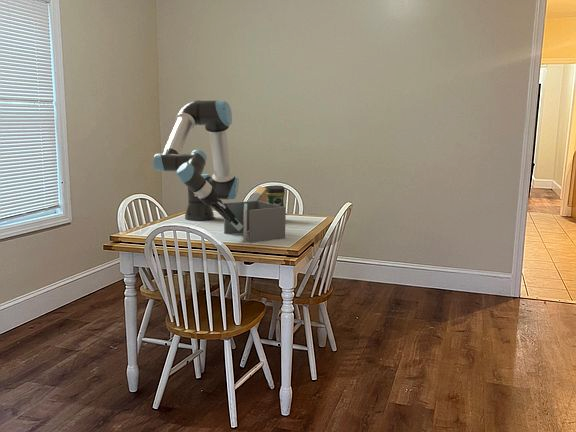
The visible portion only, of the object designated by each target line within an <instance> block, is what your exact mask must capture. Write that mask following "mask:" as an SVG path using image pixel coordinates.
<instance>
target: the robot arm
mask: <svg viewBox="0 0 576 432" xmlns="http://www.w3.org/2000/svg"><path fill="white" fill-rule="evenodd" d="M232 117H233V113H232V109H231V105H230V104H229V102H227V101H225V100H193V101H191V102H188V103H187V104H185V105H184V106H183V107H181V109H180V110H179V111H178V112H177V113H176V115H175V118H174V122H175V123H174V126H173V128H172V130H171V132H170V134H169V137H168V139H167V141H166V144H165V146H164V148H163V151H162V152H161V153H155V154H154V155H153V159H152V165H153V168H154V170H155V171H157V172H158V171H159V172H175V173H176V174H175V175H176V177H177V178H178V179H179V180H180V182H182V183H183V184H184V185H185V186H186V187H187V207H186V210H185V214H184V219H185V220H189V221H208V220H209V221H210V220H213V219H215V214H214V210H215V211H216V212H217V213H218V214H219V215H220V217H222V218H223V220H224V219H227V220H229V222H230V223H231V224H232V225H233V226H234V227H235V228H236V229H237V230H238V231H240V230H241V229H242V228H243V225H242V224H241V223H240V222H239V221H238V220H237V219H236V218H235V217H236V216H235V215H234V214H233V213H232V212H231V210H230V209H229V208H228V207H227V205H226V204H225V203H226V202H223V201H222V200H226V201H227V200H235V199H236V197H237V195H238V190H239V183H240V182H239V177H236V176H235V172H234V171H232V167H231V159H230V151H229V141H228V133H227V131H228V130H229V129H230V126H231V125H232V122H233V118H232ZM195 126H204V127H205V131H206V132H207V133H208V134H209V141H210V150H211V156H212V163H213V171H214V173H213V174H212V175H211V174H210V173H203V171H204V169H205V167H206V164H207V159H208V157H207V154H206V153H205V152H204V151H202V150H201V149H194V150H192V151H191V152H190V153H188V154H186V153H182V152H183V149H184V147H185V145H186V143H187V142H186V141H187V140H188V137H189V135H190V132H191V130H192V129H194V128H195Z"/></svg>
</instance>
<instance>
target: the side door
mask: <svg viewBox="0 0 576 432" xmlns="http://www.w3.org/2000/svg"><path fill="white" fill-rule="evenodd" d="M243 242H244V243H247V242H248V231H247V204H244V232H243Z"/></svg>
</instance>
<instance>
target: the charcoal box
mask: <svg viewBox="0 0 576 432" xmlns="http://www.w3.org/2000/svg"><path fill="white" fill-rule="evenodd" d="M224 203H225V204H226V205H227V207H228V208H229V209H230V210H231V212H232V213H233V214H234V215H235V216H236V217H235V218H236V219H237V220H238V221H239V222H240V223H241V224H242V225H243V228H242V229H241V230H240V231H238V230H237V229H236V228H235V227H234V226H233V225H232V224H231V223H230V222H229V220H227V219H224V218H223V234H233V233H235V232H236V233H244V204H247V232H248V243H249V244H252V243H260V242H269V241H277V240H285V239H286V220H287V219H286V217H287V216H286V215H287V214H286V213H287V212H286V211H287V210H286V209H287V207H286V206H284V207H282V206H278V205H274V204H270V203H266V202H261V201H248V200H247V201H237V202H224Z"/></svg>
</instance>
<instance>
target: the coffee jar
mask: <svg viewBox="0 0 576 432" xmlns="http://www.w3.org/2000/svg"><path fill="white" fill-rule="evenodd" d="M265 188H266V195H267V203H270V204H274V205H278V206H282V207H285V204H284V197H285V193H286V191H285V186H283V185H276V184H275V185H267V186H266V187H265Z"/></svg>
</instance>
